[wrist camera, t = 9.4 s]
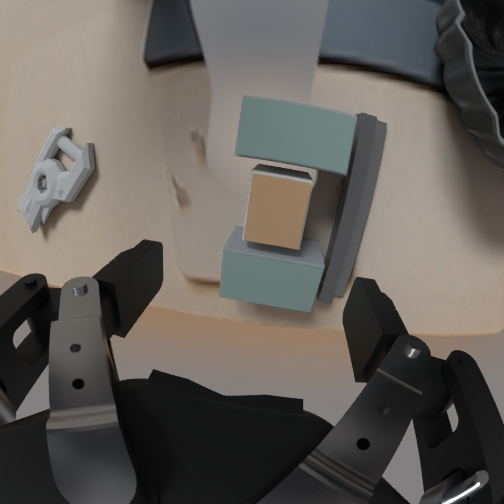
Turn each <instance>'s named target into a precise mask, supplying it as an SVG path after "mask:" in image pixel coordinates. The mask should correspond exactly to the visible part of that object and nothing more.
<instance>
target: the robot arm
mask: <svg viewBox="0 0 504 504" xmlns="http://www.w3.org/2000/svg"><path fill="white" fill-rule="evenodd" d="M162 282H163V246H162V243H161V242H157V241H151V240H146V239H144V240H142V241H141V242H140V243H139V244H137V245H136V246H135V247H134V248H133V249H132V248H131V249H129V250H126V251H124V252H121V253H120V254H119V255H118V256H116V257H115V258H114V259H113V260H112V261H110V262H109V264H107V265H106V266H104V267H103V268H102V269H101V270H100V271H99V272H97V273H96V274H95V275H94V276H93V277H92V278H91V277H76V278H73V279H71V280H69V281H67V282H66V283H65V284H64V285H63V287H62V288H50V287H48V284H47V280H46V277H45V276H44V275H42V274H38V273H35V274H29V275H26V276H24V277H22V278H21V279H20V280H18V281H17V282H16V283H15V284H14V285H12V286H11V287H10V288H9V289H8V290H6V291H5V292H4V293H3V294H2V295H1V296H0V504H410V503H409V502H408V501H407V500H406V499H404V498H403V497H402V496H401V495H400V494H399V493H398V492H397V491H396V490H395V489H394V488H393V487H392V486H391V485H390V484H389V483H388V482H387V481H386V480H385V479H384V478H383V477H382V475H383V473H384V471H385V470H386V468H387V466H388V465H389V463H390V461H391V459H392V458H393V456H394V454H395V452H396V450H397V448H398V446H399V445H400V443H401V441H402V439H403V436H404V435H405V433H406V431H407V428H408V426H409V424H410V422H411V420H412V419H413V424H414V429H415V434H416V439H417V445H418V451H419V457H420V463H421V470H422V478H423V487H424V494H423V496H422V498H421V500H420V503H419V504H504V424H503V421H502V419H501V416H500V413H499V411H498V409H497V406H496V404H495V402H494V399H493V397H492V394H491V392H490V390H489V388H488V386H487V384H486V381H485V379H484V377H483V375H482V373H481V371H480V369H479V367H478V365H477V363H476V361H475V360H474V359H473V358H472V357H471V356H470V355H469V354H467V353H466V352H463V351H460V350H455V351H452V352H451V353H450V355H449V356H448V358H447V359H446V360H443V359H440V358H436V357H433V356H431V353H430V350H429V348H428V346H427V345H426V344H425V343H424V342H423V341H422V340H421V339H419V338H417V337H415V336H412V335H409V334H408V331H407V329H406V327H405V325H404V323H403V321H402V319H401V317H400V316H399V313H398V311H397V310H396V308H395V306H394V304H393V302H392V300H391V299H390V298H389V297H388V296H387V295H386V294H385V293H382V292H381V291H380V289H379V287H378V285H377V283H376V281H375V280H374V279H368V278H362V277H357V278H356V279H355V280H354V283H353V286H352V289H351V291H350V294H349V297H348V300H347V303H346V305H345V308H344V312H343V326H344V330H345V335H346V339H347V343H348V348H349V353H350V357H351V362H352V367H353V371H354V377H355V382H365V383H367V385H366V386H365V388H364V389H363V390H362V392H361V393H360V395H359V396H358V397H357V399H356V400H355V401H354V403H353V404H352V405H351V407H350V408H349V409H348V411H347V412H346V413H345V414H344V416H343V417H342V418H341V419H340V421H339V422H338V423H337V424H336V425H335V427H334V426H333V425H331V424H330V423H329V422H327V421H326V420H324V419H322V418H321V417H319V416H317V415H315V414H313V413H310V412H308V411H305V410H303V399H296V398H287V397H280V396H272V395H248V396H247V395H245V396H225V395H221V394H219V393H217V392H214V391H212V390H210V389H208V388H206V387H204V386H201V385H199V384H197V383H195V382H193V381H191V380H189V379H186V378H182V377H178V376H175V375H171V374H168V373H164V372H161V371H157V370H154V369H153V371H152V373H151V374H150V376H149V378H148V379H127V380H122V381H119V377H118V373H117V369H116V364H115V359H114V354H113V349H112V344H111V341H110V338H111V337H112V335H113V334H114V335H117V336H120V337H123V338H125V336H126V335H127V334H128V332H129V331H130V329H131V328H132V327H133V325H134V324H135V322H136V321H137V319H138V318H139V317H140V315H141V314H142V313H143V311H144V310H145V309H146V307H147V306H148V305H149V303H150V302H151V301H152V299H153V298H154V297H155V295H156V294H157V293H158V291H159V290H160V288H161V286H162ZM25 320H27V322H28V325H29V327H30V329H31V332H30V333H29V335H28V336H27V337H26V338H25V339H24V340H23V341H22V343H21V344H20V345H19V346H18V347H17V349H16V348H15V346H14V344H13V335H14V333H15V331H16V330H17V329H18V328H19V327H20V325H21V324H22V323H23V322H24V321H25ZM48 364H49V403H50V409H47V410H45V411H42V412H39V413H36V414H33V415H31V416H28V417H25V418H22V419H19V420H16V421H15V418H16V411H17V410H18V408H19V407H20V405H21V403H22V402H23V400H24V399H25V397H26V395H27V394H28V393H29V391H30V390H31V388H32V387H33V385H34V384H35V382H36V381H37V379H38V378H39V376H40V375H41V373H42V372H43V371H44V369H45V368H46V366H47V365H48ZM453 403H454V406H455V409H456V412H457V414H458V419H459V421H458V426H457V428H456V430H455V431H454V432H452V428H451V424H450V421H449V418H448V414H447V410H448V409H449V408H450V406H451V405H452V404H453Z"/></svg>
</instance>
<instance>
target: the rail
mask: <svg viewBox="0 0 504 504" xmlns="http://www.w3.org/2000/svg"><path fill="white" fill-rule="evenodd" d="M355 116H357V121H356V127H355V133H354V139H353V145H352V151H351V156H350V161H349V166H348V171H347V176H345V177H344V182H343V186H342V191H341V196H340V200H339V205H338V209H337V213H336V218H335V222H334V226H333V230H332V234H331V238H330V242H329V246H328V250H327V253H326V257H325V261H324V264H325V267H324V271H323V274H322V278H321V281H320V285H319V288H318V291H317V298H318V302H323V303H330V304H331V302H332V299H333V296H334V295H335V296H341V297H343V295H344V292H345V289H346V286H347V283H348V280H349V277H350V274H351V271H352V268H353V265H354V261H355V258H356V255H357V252H358V248H359V245H360V242H361V238H362V235H363V231H364V227H365V224H366V220H367V216H368V212H369V208H370V204H371V200H372V196H373V192H374V188H375V183H376V179H377V174H378V169H379V164H380V159H381V154H382V149H383V143H384V137H385V132H386V125H387V123H384V122H381V121H378V120H377V117H375V116H372V115H368V114H365V113H360V114H357V115H355Z"/></svg>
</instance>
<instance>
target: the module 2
mask: <svg viewBox="0 0 504 504" xmlns="http://www.w3.org/2000/svg"><path fill="white" fill-rule="evenodd" d="M313 182H314V181H313V180H312V178H311V177H310V175H309V173H307V172H303V171H297V170H292V169H286V168H281V167H274V166H268V165H263V164H258V165H257V166H256V167H255V168H254V169H252V171H251V178H250V185H249V191H248V198H247V206H246V213H245V220H244V227H243V235H242V240H247V241H252V242H258V243H264V244H269V245H275V246H281V247H286V248H292V249H297V250H299V249H300V245H301V240H302V236H303V231H304V226H305V222H306V217H307V212H308V207H309V202H310V197H311V192H312V187H313Z"/></svg>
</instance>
